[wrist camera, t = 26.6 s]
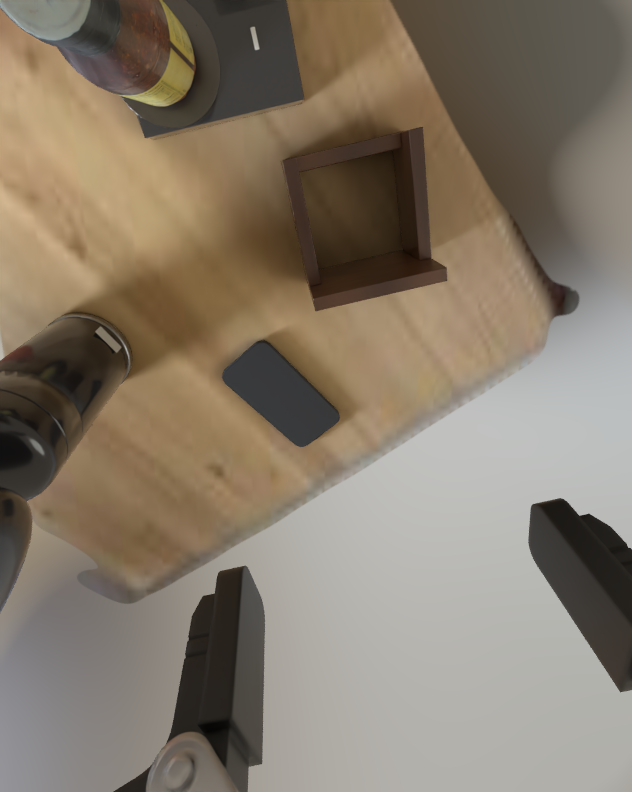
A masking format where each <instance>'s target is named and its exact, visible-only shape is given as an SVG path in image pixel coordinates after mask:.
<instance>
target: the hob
mask: <svg viewBox="0 0 632 792" xmlns="http://www.w3.org/2000/svg"><path fill="white" fill-rule="evenodd" d="M186 1H187V2H188V3H189V4H191V5H192V6H193V7H194V8H195V9H196V10H197V12H198V13H199V14H200V15H201V16H202V18H203V19H204V21H205V22H206V24H207V26H208V27H209V29H210V31H211V33H212V36H213V38H214V40H215V43H216V47H217V50H218V55H219V61H220V82H219V88H218V92H217V95H216V98H215V100H214V102H213V104H212V106H211V108H210V109H209V111H208V112H207V113H206V114H205V115H204V116H203V117H202V118H201V119H200V120H198V121H197V122H195V123H194V124H192V125H189V126H186V127H183V128H164V127H161V126H157V125H155V124H152V123H150V122H148V121H146V120H145V119H143V118H142V117H140V116H139V115H138V114H137V117H138V120H139V122H140V125H141V128H142V131H143V134H144V136H145V138H147V139H152V140H156V139H160V138H164V137H168V136H172V135H176V134H180V133H184V132H189V131H193V130H197V129H201V128H205V127H209V126H213V125H217V124H221V123H225V122H230V121H234V120H238V119H242V118H246V117H250V116H254V115H258V114H262V113H266V112H271V111H275V110H279V109H283V108H287V107H291V106H295V105H299V104H302V102H303V100H304V95H303V90H302V84H301V79H300V73H299V68H298V62H297V57H296V51H295V46H294V40H293V35H292V29H291V24H290V18H289V13H288V7H287V1H286V0H186Z"/></svg>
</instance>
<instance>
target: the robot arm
mask: <svg viewBox="0 0 632 792" xmlns="http://www.w3.org/2000/svg"><path fill="white" fill-rule="evenodd" d="M131 366H132V353H131V349H130V346H129V344H128V342H127V340H126V339H125V337H124V336H123V334H122V333H121V332H120V331H119V330H118V329H117V328H116V327H115V326H113V325H112V324H111V323H109V322H108V321H106V320H104V319H102V318H100V317H97V316H94V315H90V314H85V313H72V314H67V315H64V316H61V317H59V318H57V319H56V320H55V321H53V322H52V323H50V324H49V325H48V326H47V327H46V328H45V329H44V330H42V331H41V332H39V333H38V334H37V335H35V336H34V337H32V338H31V339H30V340H28V341H27V342H26V343H24V344H23V345H21V346H20V347H19V348H17V349H16V350H15V351H13V352H12V353H10V354H9V355H8V356H6V357H5V358H3V359H2V360H1V361H0V612H1V611H2V609H3V607H4V605H5V603H6V601H7V599H8V597H9V595H10V593H11V591H12V589H13V587H14V585H15V583H16V580H17V578H18V576H19V573H20V571H21V568H22V566H23V563H24V561H25V557H26V554H27V551H28V548H29V544H30V540H31V532H32V514H31V510H30V507H29V504H28V503H27V501H28V500H30V499H32V498H34V497H36V496H37V495H39V494H40V493H42V492H43V491H44V490H45V489H46V488H47V487H48V486H49V485H50V484H51V483H52V481H53V480H54V479H55V477H56V476H57V475H58V473H59V472H60V470H61V469H62V467H63V466H64V464H65V463H66V462H67V460H68V459H69V457H70V456H71V454H72V453H73V452H74V450H75V449H76V447H77V446H78V444H79V443H80V441H81V440H82V438H83V437H84V435H85V434H86V433H87V431H88V430H89V428H90V427H91V425H92V424H93V423H94V421H95V420H96V418H97V417H98V415H99V414H100V412H101V411H102V410H103V408H104V407H105V405H106V404H107V402H108V401H109V400H110V398H111V397H112V395H113V394H114V392H115V391H116V390H117V388H118V387H119V385H120V384H121V383H122V382H123V381H124V380H125V378H126V377H127V375H128V374H129V372H130V370H131ZM529 547H530V551H531V554H532V556H533V559H534V561H535V563H536V564H537V566H538V567H539V569H540V570H541V572H542V573H543V575H544V576H545V578H546V580H547V581H548V583H549V584H550V586H551V587H552V589H553V590H554V592H555V593H556V594H557V596H558V598H559V599H560V601H561V602H562V604H563V605H564V607H565V608H566V610H567V611H568V613H569V615H570V616H571V618H572V619H573V621H574V622H575V624H576V625H577V627H578V628H579V630H580V631H581V633H582V634H583V636H584V637H585V639H586V640H587V642H588V643H589V645H590V647H591V648H592V649H593V651H594V653H595V654H596V655H597V657H598V659H599V660H600V662H601V663H602V665H603V666H604V668H605V669H606V671H607V672H608V674H609V675H610V677H611V678H612V680H613V682H614V683H615V685H616V686H617V688H618V689H619V691H620V692H623V691H629V690H632V549H631V548H628V547H627V544H626V543H625V542H624V541H623V540H622V538H621V537H620V536H619V535H618V534H617V533H616V532H615V531H614V530H613V529H612V528H611V527H610V526H608V525H607V524H605V523H603V522H602V521H600V520H599V519H597V518H595V517H594V516H592V515H590V514H586V515H582V516H579V515H578V514H577V513H576V511H575V510H574V509H573V508H572V507H571V506H570V505H569V503H568V502H567V501H565V500H564V499H561V498H559V499H555V500H550V501H546V502H541V503H536V504H533V505H532V506H531V514H530V527H529ZM264 633H265V615H264V607H263V602H262V599H261V596H260V594H259V592H258V589H257V587H256V585H255V583H254V580H253V578H252V576H251V574H250V571H249V569H248V567H247V566H242V567H237V568H232V569H228V570H224V571H220V572H219V573H218V576H217V582H216V589H215V594H211V595H206V596H203V597H202V599H201V600H200V602H199V605H198V606H197V608H196V610H195V612H194V613H193V616H192V620H191V626H190V631H189V636H188V637H189V641H188V642H187V647H186V653H185V655H186V658H185V659H184V665H183V670H182V675H181V681H180V686H179V693H178V697H177V703H176V709H175V714H174V720H173V725H172V729H171V733H170V736H169V738H168V741H167V743H166V745H165V746H164V747H163V748H162V749H161V751H160V752H159V754H158V755H157V757H156V758H155V760H154V762H153V764H152V765H151V766H150V767H149V768H148V769H147V770H146V771H145V772H143V773H142V774H141V775H139V776H138V777H136V778H135V779H133V780H131V781H130V782H128V783H127V784H125V785H124V786H122V787H120V788H119V789H117V790H115V791H114V792H247V790H248V767H249V766H254V765H259V764H262V742H263V690H264V688H263V687H264V684H263V683H264V635H265V634H264Z"/></svg>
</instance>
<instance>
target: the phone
mask: <svg viewBox="0 0 632 792" xmlns="http://www.w3.org/2000/svg"><path fill="white" fill-rule="evenodd" d="M222 378H223V381H224V382H225V384H227V385H228V386H229V387H230V388H231V389H232V390H233V391H234V392H236V393H237V394H238V395H239V396H240V397H241V398H242V399H244V400H245V401H246V402H247V403H248V404H249V405H250V406H252V407H253V408H254V409H255V410H256V411H257V412H258V413H260V414H261V415H262V416H263V417H264V418H265V419H266V420H268V421H269V422H270V423H271V424H272V425H273V426H274V427H276V428H277V429H278V430H279V431H280V432H281V433H282V434H284V435H285V436H286V437H287V438H288V439H289V440H290V441H292V442H293V443H294V444H295V445H297V446H299V447H304V446H306V445H308V444H310V443H311V442H312V441H314V440H315V439H316V438H318V437H319V436H320V435H322V434H323V433H324V432H326V431H327V430H328V429H330V428H331V427H332V426H334V425H335V424H336V423H337V422H338V421H339V418H340V417H339V413H338V411H337V410H336V409H335V408H334V407H333V406H332V405H331V404H330V403H329V402H328V401H327V400H326V399H325V398H324V397H323V396H322V395H321V394H320V393H319V392H318V391H317V390H316V389H315V388H314V387H313V386H312V385H311V384H310V383H309V382H308V381H307V380H306V379H305V378H304V377H303V376H302V375H301V374H300V373H299V372H298V371H297V370H296V369H295V368H294V367H293V366H292V365H291V364H290V363H289V362H288V361H287V360H286V359H285V358H284V357H283V356H282V355H281V354H280V353H279V352H278V351H277V350H276V349H275V348H274V347H273V346H272V345H271V344H270V343H269V342H267V341H264V340H261V341H258V342H256V343H255V344H253V345H252V346H251V347H250V348H249V349H248V350H246V351H245V352H244V353H243V354H242V355H241V356H240V357H238V358H237V359H236V360H235V361H234V362H233V363H232V364H230V365H229V366H228V367H227V368H226V369H225V370H224V372H223V376H222Z"/></svg>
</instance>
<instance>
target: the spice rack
mask: <svg viewBox="0 0 632 792" xmlns="http://www.w3.org/2000/svg"><path fill="white" fill-rule="evenodd" d="M390 150H393V158H394V168H395V178H396V188H397V198H398V209H399V219H400V229H401V239H402V249H403V250H400V251H396V252H392V253H388V254H383V255H379V256H375V257H370V258H366V259H362V260H358V261H353V262H349V263H345V264H341V265H336V266H332V267H328V268H323V269H318V264H317V259H316V254H315V249H314V244H313V239H312V234H311V229H310V224H309V219H308V214H307V209H306V204H305V199H304V194H303V189H302V184H301V179H300V174H299V172H302V171H307V170H311V169H315V168H319V167H323V166H327V165H332V164H336V163H340V162H344V161H348V160H352V159H357V158H361V157H365V156H369V155H373V154H377V153H382V152H386V151H390ZM281 164H282V168H283V173H284V177H285V182H286V187H287V191H288V196H289V200H290V205H291V210H292V214H293V219H294V223H295V228H296V232H297V237H298V242H299V246H300V251H301V255H302V260H303V265H304V269H305V274H306V278H307V283H308V286H309V290H310V293H311V297H312V300H313V304H314V307H315V311H319V310H323V309H327V308H332V307H336V306H340V305H345V304H349V303H353V302H358V301H362V300H366V299H370V298H375V297H379V296H383V295H388V294H392V293H396V292H401V291H405V290H409V289H414V288H418V287H422V286H427V285H431V284H435V283H440V282H444V281H447V268H446V267H445V266H443V265H441V264H440V263H438V262H436V261H435V260H433V259H431V245H430V229H429V214H428V198H427V183H426V167H425V152H424V137H423V127H419V128H415V129H411V130H407V131H403V132H399V133H395V134H391V135H386V136H382V137H378V138H374V139H370V140H366V141H362V142H357V143H353V144H349V145H345V146H341V147H337V148H332V149H328V150H324V151H320V152H316V153H312V154H308V155H303V156H299V157H295V158H291V159H286V160H282V161H281Z"/></svg>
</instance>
